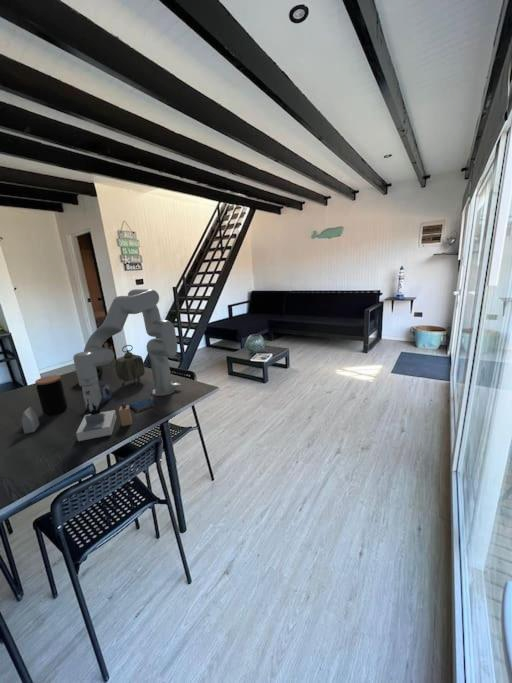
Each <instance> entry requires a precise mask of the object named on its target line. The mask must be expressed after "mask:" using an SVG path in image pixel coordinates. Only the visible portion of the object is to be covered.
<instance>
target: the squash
mask: <svg viewBox="0 0 512 683" xmlns="http://www.w3.org/2000/svg"><path fill="white" fill-rule="evenodd" d="M96 370H97V375H98V380H99V381H101V379H102V377H103V373H104V372H103V370H104V369H103V368H102V365H101V366H96ZM75 374H76V376H77V373H75Z"/></svg>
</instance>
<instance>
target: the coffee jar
mask: <svg viewBox="0 0 512 683" xmlns="http://www.w3.org/2000/svg"><path fill="white" fill-rule="evenodd" d="M34 383H35V385H36V388H35V389H36V391H37V394H38V400H39V403H40V406H41V410H42V413H43V414H44V415H45V416H49V417H53V416H56V415H57V416H58V415H61V414H62V413H64V412H66V411H67V409H68V401H67V397H66V394H65V389H64V386H63V381H62V380H61V375H57V374H56V375H55V374H54V375H53V374H52V375H48V376H43V377H40V378H38V379H36V380H35V381H34Z"/></svg>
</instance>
